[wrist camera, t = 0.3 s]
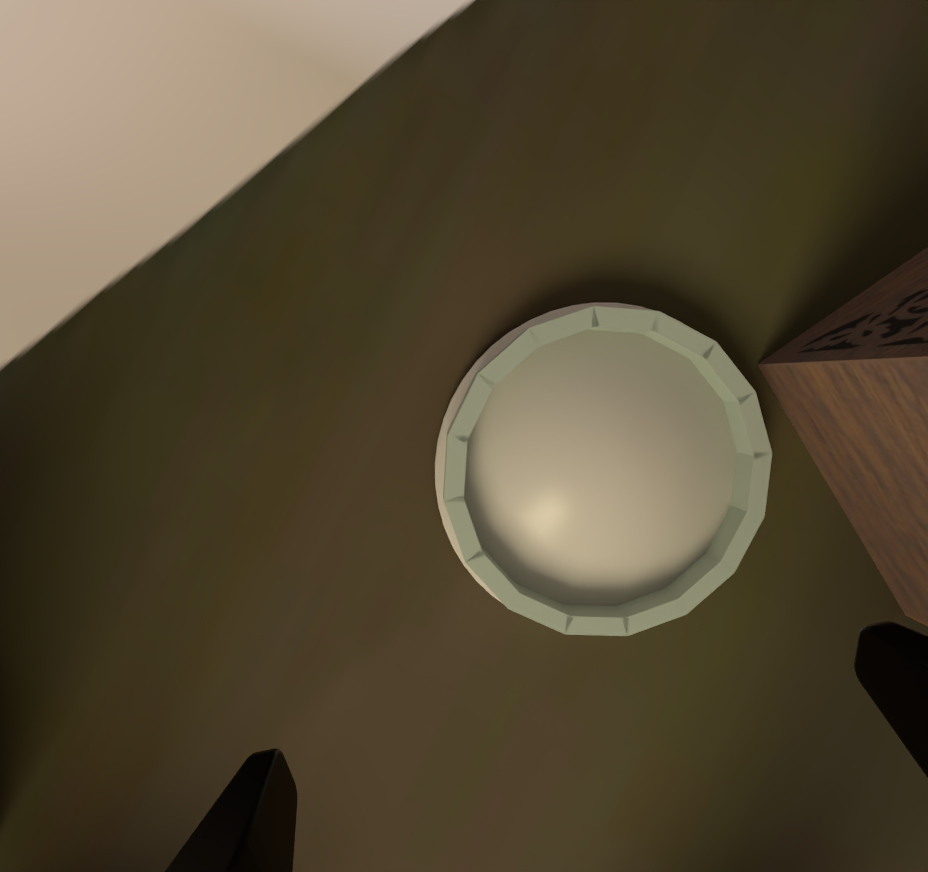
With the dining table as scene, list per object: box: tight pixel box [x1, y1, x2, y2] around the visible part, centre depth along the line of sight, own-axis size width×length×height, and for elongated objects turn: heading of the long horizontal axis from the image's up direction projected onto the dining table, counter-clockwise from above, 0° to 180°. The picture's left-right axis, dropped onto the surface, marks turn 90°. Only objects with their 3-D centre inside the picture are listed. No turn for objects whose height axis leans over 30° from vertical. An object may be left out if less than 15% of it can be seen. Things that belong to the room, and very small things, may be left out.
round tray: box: [435, 302, 772, 636], centre depth 23 cm, size 14×14×2 cm
